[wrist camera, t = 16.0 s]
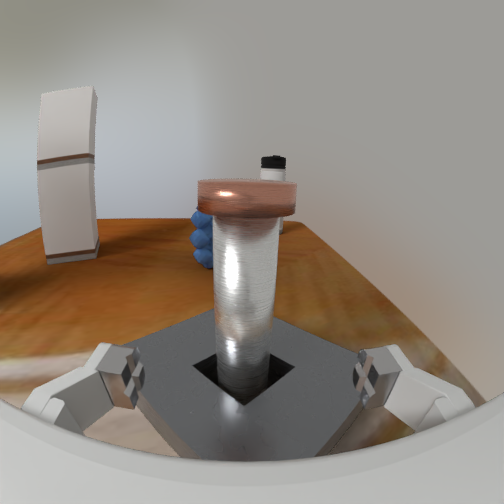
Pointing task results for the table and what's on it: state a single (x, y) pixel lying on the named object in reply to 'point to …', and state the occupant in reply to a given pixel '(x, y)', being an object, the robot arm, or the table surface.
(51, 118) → the striped white pillar
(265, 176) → the travel mug
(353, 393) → the block
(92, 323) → the table surface
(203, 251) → the grapes
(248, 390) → the steel pin
